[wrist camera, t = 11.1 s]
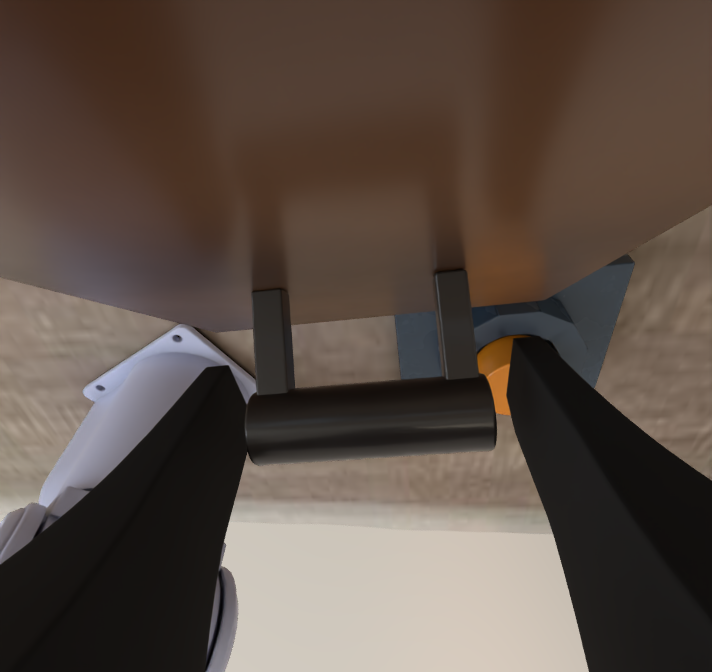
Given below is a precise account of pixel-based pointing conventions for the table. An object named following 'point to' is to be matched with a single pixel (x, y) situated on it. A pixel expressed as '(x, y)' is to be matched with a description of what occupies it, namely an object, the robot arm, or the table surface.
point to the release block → (531, 324)
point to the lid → (346, 176)
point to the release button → (497, 369)
